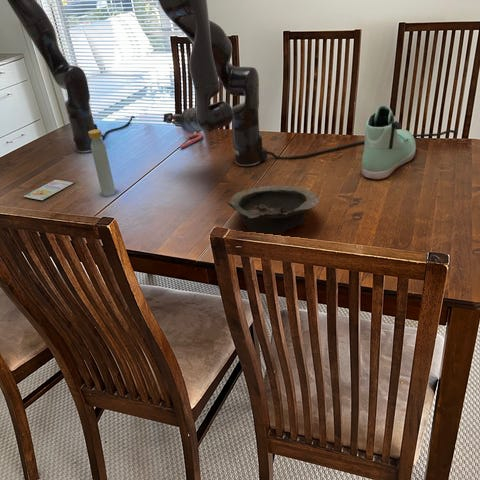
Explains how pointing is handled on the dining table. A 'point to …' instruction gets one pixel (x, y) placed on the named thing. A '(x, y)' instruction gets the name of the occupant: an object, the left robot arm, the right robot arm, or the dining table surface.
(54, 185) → the baking ingredient package
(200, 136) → the candy cane
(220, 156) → the dining table surface
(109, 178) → the bottle
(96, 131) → the cap
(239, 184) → the dining table surface
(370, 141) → the sneaker
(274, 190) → the stone bowl
